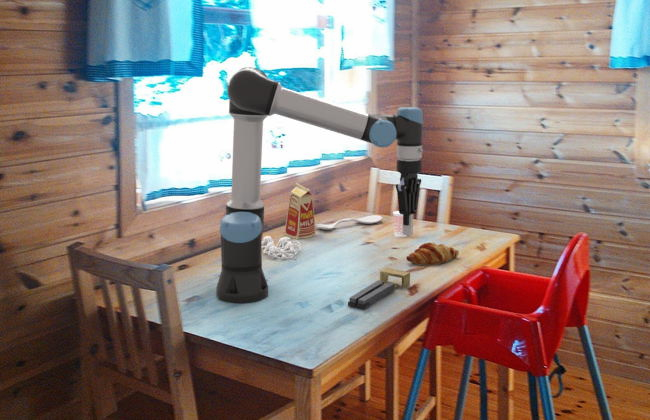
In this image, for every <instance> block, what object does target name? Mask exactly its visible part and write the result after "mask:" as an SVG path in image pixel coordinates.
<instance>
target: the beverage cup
mask: <svg viewBox="0 0 650 420" xmlns="http://www.w3.org/2000/svg"><path fill="white" fill-rule="evenodd" d="M392 214H393V224H394V225H393V228H394V230H393V232H394V233H393V234H394V236H395V237H398V238H405V237H407V236H408V235H403V214H400V213H399V210H395V211H393V212H392Z"/></svg>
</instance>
